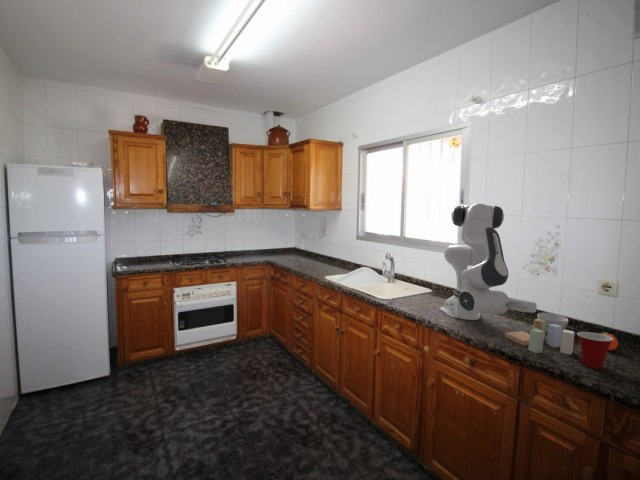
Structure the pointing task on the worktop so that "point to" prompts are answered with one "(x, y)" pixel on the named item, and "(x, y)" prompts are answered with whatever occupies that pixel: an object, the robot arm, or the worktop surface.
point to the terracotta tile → (518, 337)
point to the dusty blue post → (554, 335)
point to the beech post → (539, 325)
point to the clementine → (614, 341)
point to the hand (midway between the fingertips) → (521, 303)
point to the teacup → (553, 320)
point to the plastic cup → (594, 348)
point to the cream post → (567, 342)
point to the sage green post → (536, 340)
